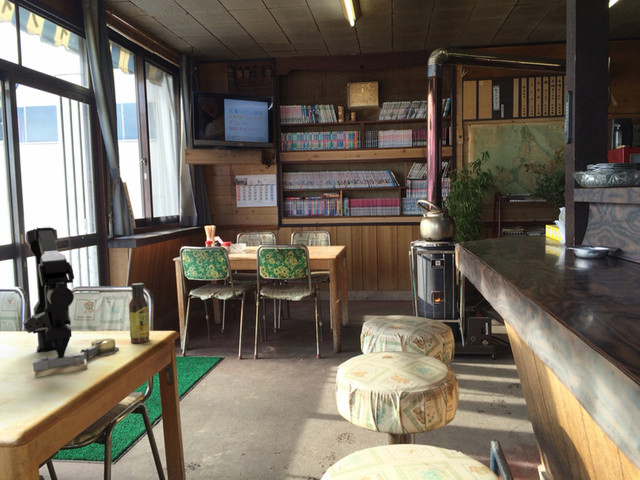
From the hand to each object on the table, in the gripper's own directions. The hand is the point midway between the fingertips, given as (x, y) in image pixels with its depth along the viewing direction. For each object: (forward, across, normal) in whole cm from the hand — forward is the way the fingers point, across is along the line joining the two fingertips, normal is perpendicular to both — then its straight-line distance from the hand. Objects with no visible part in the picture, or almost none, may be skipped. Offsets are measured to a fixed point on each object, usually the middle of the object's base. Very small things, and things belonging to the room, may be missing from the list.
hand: (60, 356), depth 143 cm
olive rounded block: (+3, -10, +10) cm, 15 cm away
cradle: (+4, 0, 0) cm, 4 cm away
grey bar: (+3, 0, 0) cm, 3 cm away
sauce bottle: (+4, -19, +24) cm, 31 cm away
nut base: (+4, -13, +12) cm, 18 cm away
